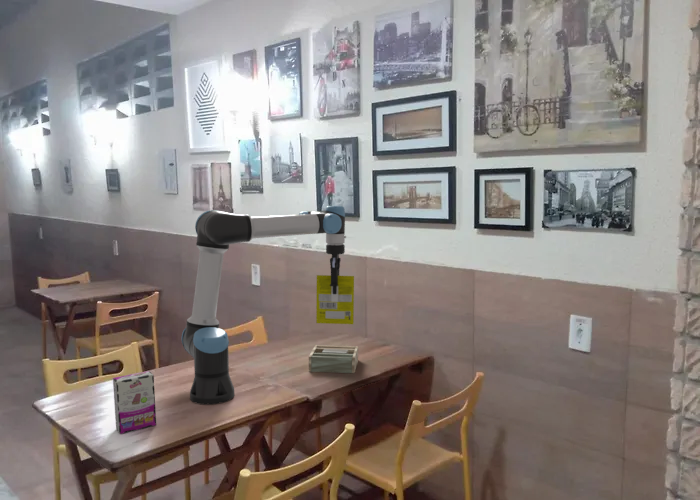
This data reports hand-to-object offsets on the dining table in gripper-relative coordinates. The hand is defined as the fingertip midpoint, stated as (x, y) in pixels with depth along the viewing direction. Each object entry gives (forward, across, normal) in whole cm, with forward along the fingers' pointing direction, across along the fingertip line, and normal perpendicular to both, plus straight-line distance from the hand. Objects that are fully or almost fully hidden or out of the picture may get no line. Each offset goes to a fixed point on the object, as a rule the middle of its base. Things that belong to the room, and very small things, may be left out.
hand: (335, 301), depth 241 cm
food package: (+10, 0, 0) cm, 10 cm away
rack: (+26, -4, 0) cm, 26 cm away
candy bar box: (+27, -69, +53) cm, 91 cm away
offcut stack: (+26, -4, 0) cm, 26 cm away
